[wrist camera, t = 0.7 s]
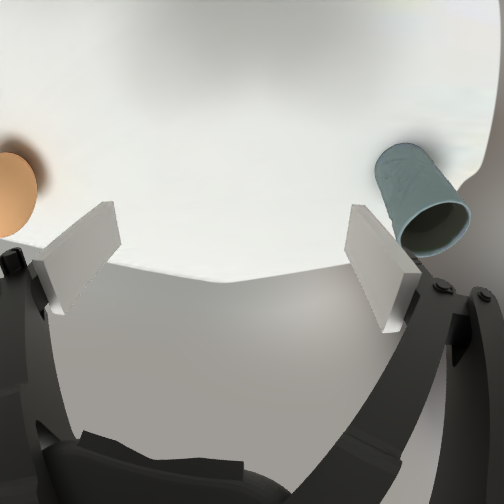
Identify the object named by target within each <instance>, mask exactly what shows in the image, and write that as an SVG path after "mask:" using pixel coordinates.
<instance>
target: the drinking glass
mask: <svg viewBox="0 0 504 504" xmlns="http://www.w3.org/2000/svg"><path fill="white" fill-rule="evenodd" d="M375 178H376V181H377V184H378V186H379V189H380V191H381V194H382V197H383V200H384V203H385V206H386V208H387V212H388V214H389V218H390V219H391V220H392V227H393V230H394V234H395V237H396V241H397V242H398V244H399V245H400V246H401V247H406V248H407V249H409V250H410V251H412V252H413V253H414V254H415V256H416V257H429V256H432V255H436V254H438V253H441V252H443V251H445V250H446V249H448V248H450V247H451V246H453V245H454V244H455V243H456V242H457V241H459V240H460V239H461V237H462V236H463V235H464V234H465V232H466V231H467V229H468V226H469V224H470V220H471V213H470V209H469V207H468V206H467V204H466V203H465V202H464V200H463V199H462V198H461V196H460V195H459V194H458V193H457V191H456V190H455V189H454V187H453V186H452V185H451V183H450V182H449V181H448V180H447V179H446V178H445V176H444V175H443V174H442V173H441V171H440V170H439V169H438V168H437V167H436V166H434V163H433V161H432V160H431V159H430V158H429V156H428V155H427V154H426V153H425V152H424V151H423V150H422V149H421V148H420V147H418V146H416V145H414V144H410V143H403V144H398V145H397V144H396V145H394V146H393V147H391V148H389V149H387V150H386V151H385V152H384V153H383V154H382V155H381V157H380V158H379V160H378V161H377V163H376V166H375Z"/></svg>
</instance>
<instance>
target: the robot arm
mask: <svg viewBox="0 0 504 504" xmlns="http://www.w3.org/2000/svg"><path fill="white" fill-rule="evenodd" d="M120 245H121V240H120V235H119V230H118V225H117V220H116V214H115V208H114V202H113V201H109V202H102V203H100V204H99V205H98V206H96V207H95V208H94V209H92V210H91V211H90V212H88V213H87V214H86V215H84V216H83V217H82V218H81V219H79V220H78V221H77V222H75V223H74V224H73V225H72V226H70V227H69V228H68V229H67V230H66V231H64V232H63V233H62V234H61V235H60V236H58V237H57V238H56V239H55V240H54V241H52V242H51V243H50V244H49V245H48V246H47V247H46V248H44V249H43V250H42V251H41V252H40V253H39V254H38V255H37V256H36V257H34V258H33V259H32V262H31V263H30V264H29V265H28V266H27V264H26V261H25V258H24V256H23V252H22V249H21V248H19V247H16V248H12V249H10V250H8V251H6V252H4V253H3V254H2V255H1V256H0V266H1V269H2V271H3V274H4V278H0V504H380V502H381V501H382V499H383V498H384V496H385V495H386V493H387V491H388V490H389V488H390V487H391V485H392V483H393V481H394V480H395V478H396V476H397V474H398V472H399V470H400V468H401V465H402V461H401V460H400V457H401V454H402V452H403V450H404V448H405V446H406V444H407V442H408V440H409V438H410V436H411V434H412V432H413V430H414V428H415V425H416V423H417V421H418V419H419V416H420V414H421V412H422V409H423V407H424V405H425V402H426V400H427V397H428V394H429V392H430V389H431V386H432V383H433V381H434V378H435V375H436V372H437V369H438V366H439V363H440V359H441V356H442V353H443V349H444V346H445V345H446V359H447V378H446V379H447V380H446V382H447V383H446V403H445V418H444V427H443V436H442V443H441V450H440V456H439V462H438V467H437V473H436V477H435V482H434V486H433V490H432V494H431V498H430V502H429V504H504V320H503V316H502V313H501V310H500V307H499V304H498V301H497V299H496V297H495V296H494V295H493V294H492V292H491V291H488V290H487V289H486V288H482V287H474V288H473V289H472V290H471V292H470V295H469V297H468V296H463V295H458V294H456V290H455V288H454V287H453V286H452V285H451V284H450V283H449V282H447V281H445V280H443V279H439V278H433V277H432V276H431V274H430V273H429V272H428V270H427V269H426V268H425V267H424V265H422V263H421V262H420V261H419V260H418V258H417V257H416V256H415V254H414V253H413V252H412V251H410V250H409V249H407V248H406V247H401V246H400V245H399V244H398V242H397V241H396V240H395V239H394V238H393V236H392V235H391V234H390V233H389V232H388V231H387V229H386V228H385V227H384V226H383V225H382V224H381V223H380V221H379V220H378V219H377V218H376V217H375V216H374V215H373V214H372V213H371V211H370V210H369V209H368V208H367V207H366V206H365V205H355V204H352V206H351V212H350V219H349V225H348V231H347V237H346V243H345V249H344V251H345V253H346V255H347V257H348V259H349V261H350V263H351V265H352V267H353V269H354V271H355V273H356V275H357V277H358V279H359V281H360V284H361V286H362V288H363V290H364V292H365V294H366V297H367V299H368V301H369V303H370V306H371V308H372V310H373V312H374V314H375V317H376V319H377V321H378V324H379V326H380V329H381V331H382V333H389V332H399V330H400V328H401V326H402V323H403V321H405V323H406V325H407V328H406V330H405V332H404V334H403V336H402V338H401V341H400V342H399V344H398V346H397V348H396V350H395V352H394V354H393V356H392V357H391V359H390V361H389V363H388V365H387V366H386V368H385V370H384V372H383V373H382V375H381V377H380V379H379V380H378V382H377V384H376V385H375V387H374V389H373V390H372V392H371V394H370V395H369V397H368V399H367V400H366V402H365V403H364V405H363V406H362V408H361V409H360V411H359V412H358V414H357V415H356V416H355V418H354V419H353V421H352V422H351V424H350V425H349V427H348V428H347V429H346V431H345V432H344V433H343V434H342V435H341V437H340V438H339V439H338V441H337V442H336V443H335V445H334V446H333V447H332V448H331V450H330V451H329V452H328V454H327V455H326V456H325V457H324V458H323V460H322V461H321V462H320V463H319V464H318V466H317V467H316V468H315V469H314V471H313V472H312V473H311V474H310V475H309V476H308V477H307V478H306V479H305V480H304V482H303V483H302V484H301V485H300V486H299V487H298V488H297V489H296V490H295V491H294V492H293V493H292V494H291V493H290V492H289V491H288V490H286V489H285V488H284V487H283V486H281V485H280V484H278V483H276V482H275V481H273V480H271V479H269V478H267V477H265V476H262V475H260V474H257V473H255V472H251V471H247V470H244V462H243V461H228V460H216V459H207V458H188V459H175V460H174V459H173V460H153V459H150V458H147V457H145V456H144V455H142V454H140V453H138V452H136V451H134V450H132V449H130V448H128V447H126V446H125V445H123V444H121V443H119V442H117V441H115V440H112V439H108V438H105V437H102V436H99V435H96V434H93V433H90V432H87V431H83V432H82V435H81V438H80V439H76V438H75V436H74V434H73V432H72V430H71V427H70V424H69V420H68V417H67V414H66V410H65V407H64V403H63V399H62V395H61V391H60V387H59V383H58V379H57V374H56V369H55V364H54V359H53V353H52V346H51V339H50V332H49V324H48V315H47V312H46V310H45V308H44V307H45V306H46V305H47V303H49V305H50V307H51V309H52V312H53V313H56V314H60V315H66V313H67V312H68V310H69V309H70V308H71V306H72V305H73V304H74V302H75V301H76V300H77V298H78V297H79V296H80V294H81V293H82V292H83V291H84V289H85V288H86V287H87V285H88V284H89V283H90V281H91V280H92V279H93V278H94V276H95V275H96V274H97V273H98V272H99V270H100V269H101V268H102V267H103V265H104V264H105V263H106V262H107V261H108V259H109V258H110V257H111V256H112V255H113V253H114V252H115V251H116V250H117V249H118V248H119V246H120Z"/></svg>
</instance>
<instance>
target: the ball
mask: <svg viewBox="0 0 504 504" xmlns="http://www.w3.org/2000/svg"><path fill="white" fill-rule="evenodd" d="M36 198H37V183H36V178H35V175H34V173H33V170H32V168H31V167H30V165H29V164H28V163H27V162H26V161H25V160H24V159H23V158H22V157H20V156H18V155H16V154H14V153H7V152H4V153H0V238H3V237H7V236H10V235H12V234H14V233H16V232H17V231H19V230H20V229H21V228H22V227H23V226H24V225H25V224H26V223H27V221H28V220H29V218H30V216H31V214H32V212H33V210H34V207H35V204H36Z"/></svg>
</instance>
